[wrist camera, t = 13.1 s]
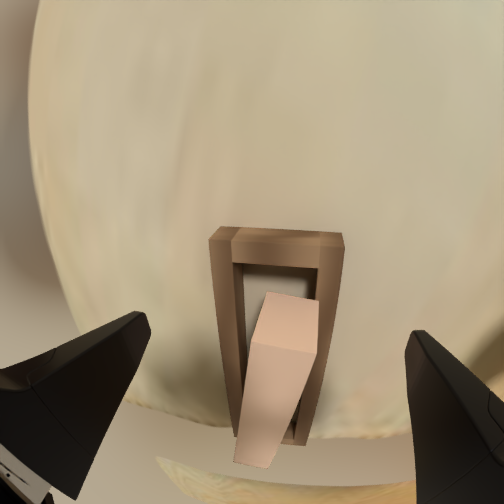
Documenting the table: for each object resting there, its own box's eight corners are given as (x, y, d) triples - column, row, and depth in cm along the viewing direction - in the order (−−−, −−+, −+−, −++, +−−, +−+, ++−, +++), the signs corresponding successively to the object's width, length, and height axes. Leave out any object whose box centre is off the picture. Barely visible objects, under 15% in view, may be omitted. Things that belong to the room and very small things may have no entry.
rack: (341, 233, 19) (344, 247, 16) (307, 429, 29) (305, 445, 27) (220, 226, 20) (208, 239, 18) (239, 420, 31) (234, 436, 28)
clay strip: (318, 300, 18) (316, 353, 14) (276, 431, 26) (267, 469, 22) (267, 291, 19) (250, 341, 14) (244, 424, 27) (233, 462, 22)
